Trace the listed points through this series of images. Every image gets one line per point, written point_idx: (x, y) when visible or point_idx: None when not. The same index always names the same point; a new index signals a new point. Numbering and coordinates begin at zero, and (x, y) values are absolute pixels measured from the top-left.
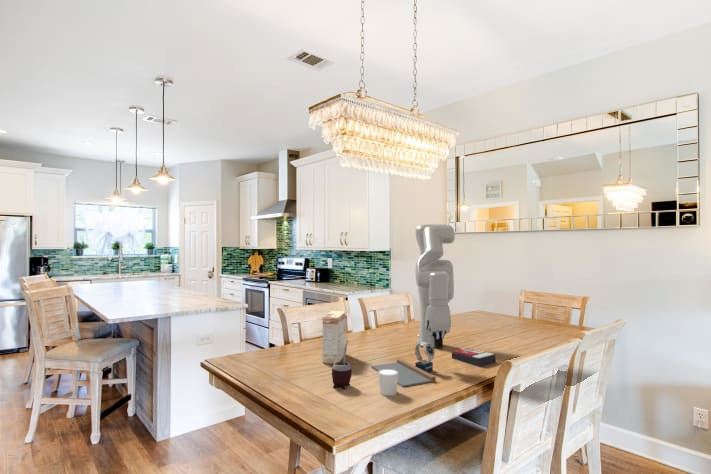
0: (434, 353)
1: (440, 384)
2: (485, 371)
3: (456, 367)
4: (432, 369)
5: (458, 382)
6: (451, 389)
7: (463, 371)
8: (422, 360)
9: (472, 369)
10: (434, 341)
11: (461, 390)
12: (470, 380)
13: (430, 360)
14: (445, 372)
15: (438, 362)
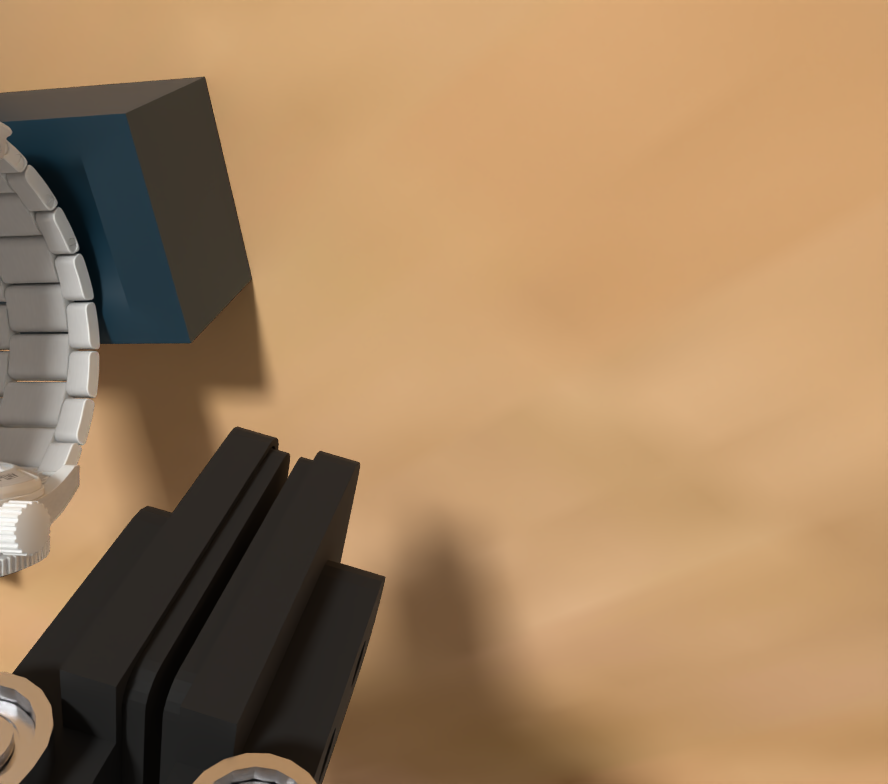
0: (48, 545)
1: (7, 608)
2: (840, 768)
3: (711, 454)
4: (241, 284)
5: None
6: None
7: (607, 598)
8: (4, 194)
9: (801, 643)
10: (70, 606)
11: None
12: (381, 749)
13: (28, 429)
14: None
15: (758, 31)
